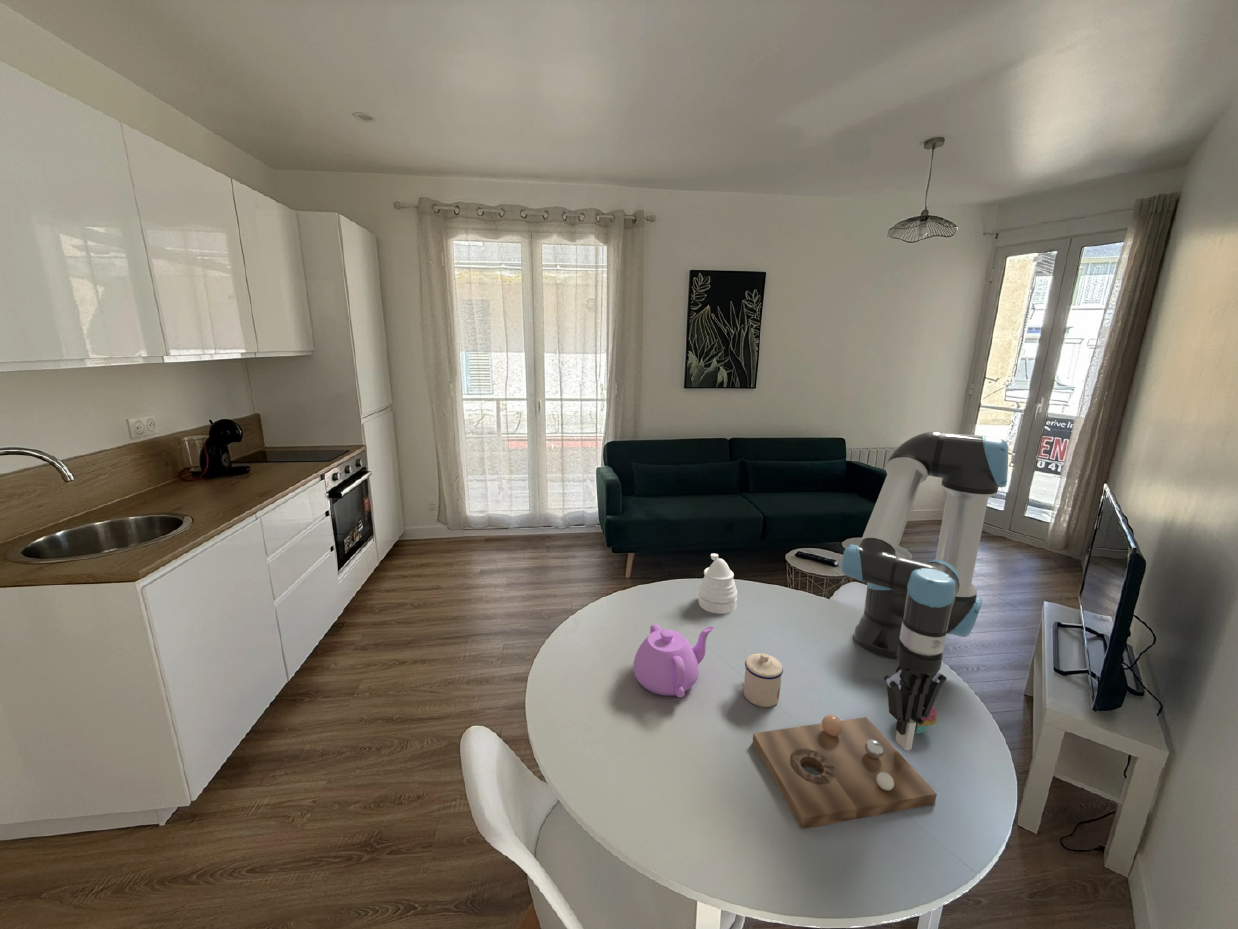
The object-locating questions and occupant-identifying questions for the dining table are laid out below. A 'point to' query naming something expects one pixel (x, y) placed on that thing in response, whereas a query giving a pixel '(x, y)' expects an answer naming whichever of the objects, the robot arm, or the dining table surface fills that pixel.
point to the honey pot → (718, 588)
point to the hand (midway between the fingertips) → (903, 744)
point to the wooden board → (839, 773)
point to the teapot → (669, 661)
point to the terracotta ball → (832, 725)
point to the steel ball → (874, 749)
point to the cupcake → (927, 721)
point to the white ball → (885, 781)
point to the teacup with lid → (762, 679)
